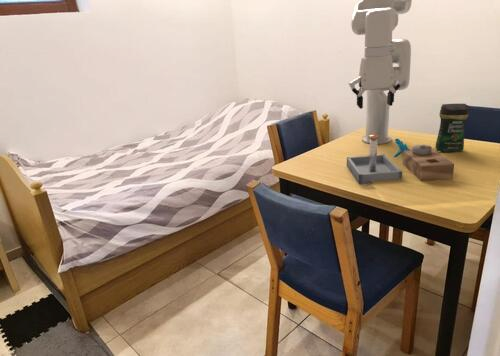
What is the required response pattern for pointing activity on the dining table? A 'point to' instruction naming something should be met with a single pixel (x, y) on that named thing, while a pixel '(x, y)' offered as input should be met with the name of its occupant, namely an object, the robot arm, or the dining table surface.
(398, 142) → the gear
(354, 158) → the tray
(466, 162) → the dining table surface
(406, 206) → the dining table surface
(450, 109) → the coffee jar
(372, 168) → the pin
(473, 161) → the dining table surface
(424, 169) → the tensioner block
